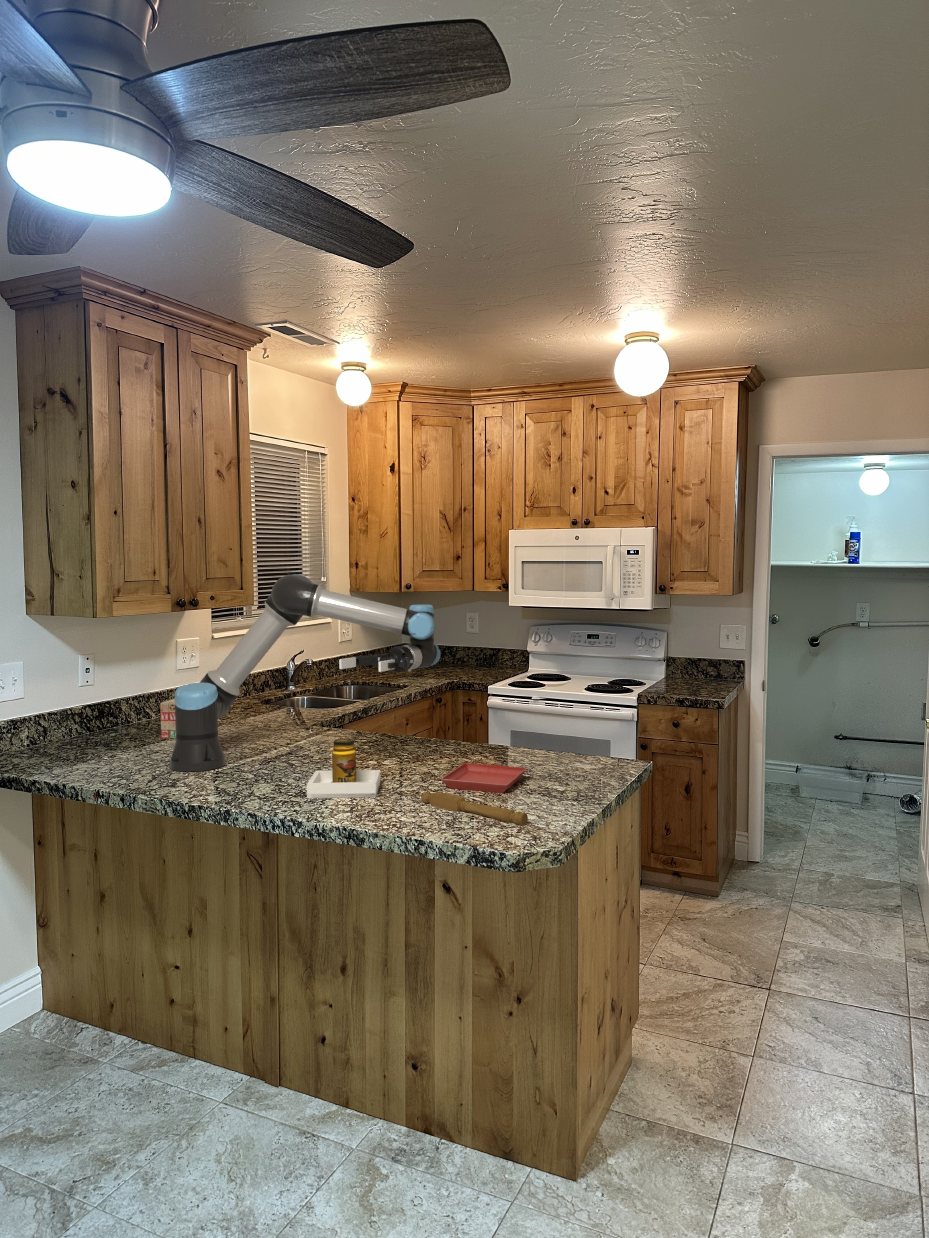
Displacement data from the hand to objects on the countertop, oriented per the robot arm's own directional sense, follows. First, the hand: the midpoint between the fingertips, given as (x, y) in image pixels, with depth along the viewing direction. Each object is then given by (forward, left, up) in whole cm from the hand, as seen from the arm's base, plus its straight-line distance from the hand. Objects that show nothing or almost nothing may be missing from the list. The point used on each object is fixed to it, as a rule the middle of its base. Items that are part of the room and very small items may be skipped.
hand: (359, 665), depth 229 cm
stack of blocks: (-68, +63, -30) cm, 97 cm away
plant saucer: (+34, -13, -31) cm, 47 cm away
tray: (-2, -18, -30) cm, 35 cm away
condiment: (-3, -18, -29) cm, 34 cm away
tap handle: (+29, -39, -30) cm, 58 cm away
